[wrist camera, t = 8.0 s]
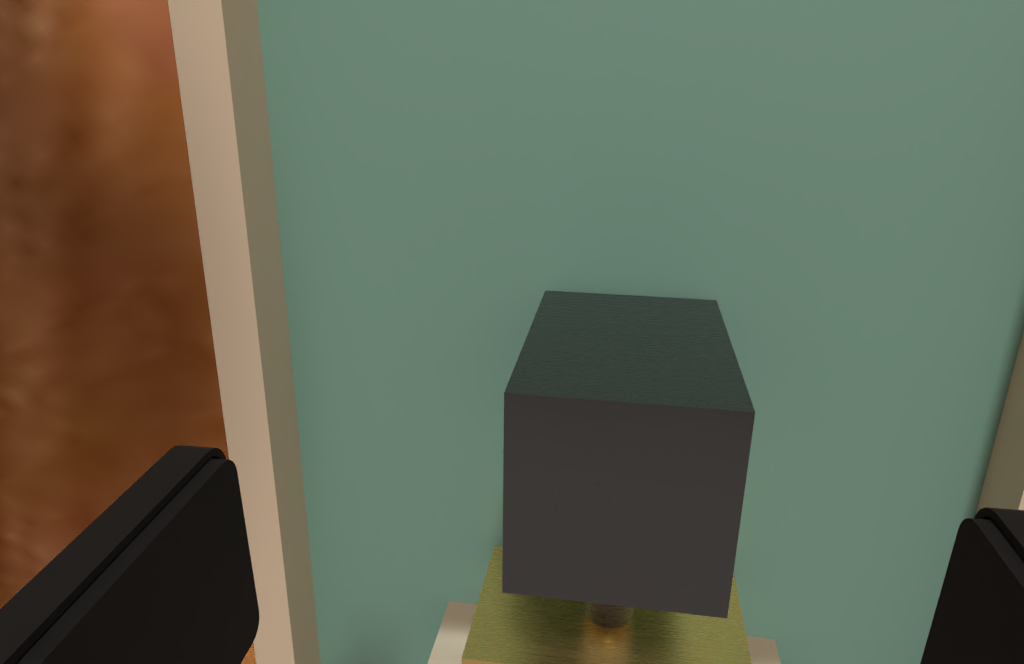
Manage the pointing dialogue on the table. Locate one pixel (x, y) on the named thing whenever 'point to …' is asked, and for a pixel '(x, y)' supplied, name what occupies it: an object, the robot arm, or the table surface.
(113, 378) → the table surface
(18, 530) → the table surface
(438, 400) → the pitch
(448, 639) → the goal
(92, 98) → the table surface
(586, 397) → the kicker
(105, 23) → the table surface
